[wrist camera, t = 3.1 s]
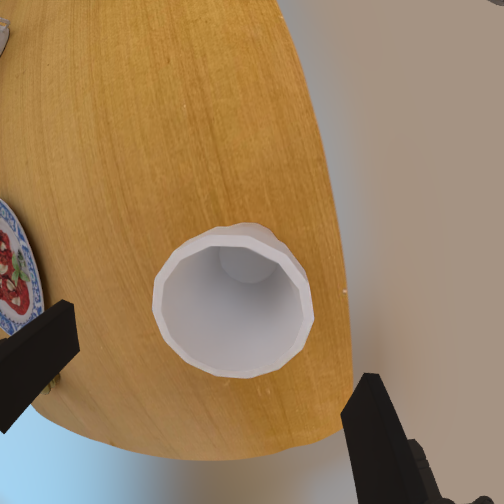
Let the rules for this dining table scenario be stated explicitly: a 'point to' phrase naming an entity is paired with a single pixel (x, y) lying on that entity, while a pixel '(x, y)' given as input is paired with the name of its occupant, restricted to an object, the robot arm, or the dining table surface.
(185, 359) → the foam cup
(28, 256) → the ceramic plate
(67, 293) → the dining table surface
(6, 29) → the mug
